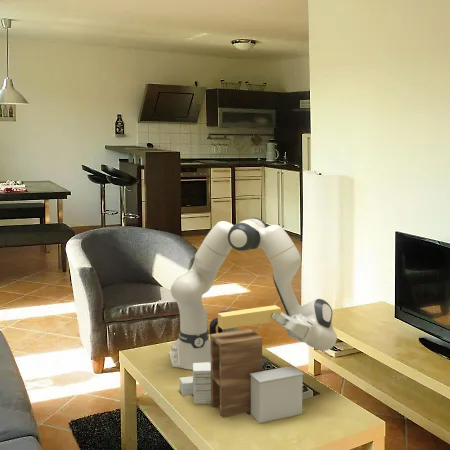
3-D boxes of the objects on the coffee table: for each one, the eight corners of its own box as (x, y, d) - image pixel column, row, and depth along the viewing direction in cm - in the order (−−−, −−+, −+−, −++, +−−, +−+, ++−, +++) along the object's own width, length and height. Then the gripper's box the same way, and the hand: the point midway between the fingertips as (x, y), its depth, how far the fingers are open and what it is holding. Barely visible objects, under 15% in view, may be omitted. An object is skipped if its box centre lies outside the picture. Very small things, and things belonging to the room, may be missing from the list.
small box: (197, 394, 217) (197, 381, 216) (182, 396, 215) (182, 383, 215) (194, 387, 222) (193, 375, 222) (179, 389, 221) (178, 377, 220)
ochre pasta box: (218, 325, 201) (217, 313, 201) (275, 317, 210) (275, 305, 209) (222, 329, 198) (222, 316, 197) (280, 320, 206) (280, 308, 205)
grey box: (249, 413, 202) (249, 373, 200) (292, 404, 208) (292, 365, 206) (259, 423, 195) (259, 382, 193) (302, 413, 202) (303, 373, 199)
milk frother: (225, 339, 271) (225, 308, 269) (254, 347, 262) (254, 315, 260) (206, 349, 260) (206, 317, 258) (236, 357, 251) (235, 323, 248)
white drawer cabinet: (193, 395, 216) (192, 362, 214) (213, 394, 217) (213, 361, 215) (193, 404, 209) (192, 370, 207) (214, 403, 209) (213, 370, 207)
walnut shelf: (211, 404, 209) (210, 334, 204) (249, 397, 214) (249, 328, 210) (222, 417, 200) (221, 344, 195) (261, 409, 205) (262, 337, 201)
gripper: (288, 310, 221) (259, 296, 216) (317, 328, 203) (286, 313, 197) (280, 326, 221) (251, 312, 215) (308, 344, 202) (278, 330, 197)
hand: (268, 312), depth 206 cm, fingers closed on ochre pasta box, 4 cm apart
